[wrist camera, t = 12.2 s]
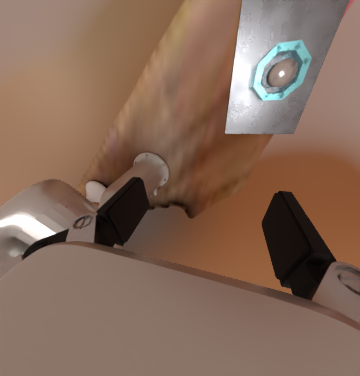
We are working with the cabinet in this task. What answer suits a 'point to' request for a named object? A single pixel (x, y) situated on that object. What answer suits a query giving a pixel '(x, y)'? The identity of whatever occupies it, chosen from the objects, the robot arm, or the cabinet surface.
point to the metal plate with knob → (278, 60)
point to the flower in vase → (94, 191)
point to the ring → (291, 50)
